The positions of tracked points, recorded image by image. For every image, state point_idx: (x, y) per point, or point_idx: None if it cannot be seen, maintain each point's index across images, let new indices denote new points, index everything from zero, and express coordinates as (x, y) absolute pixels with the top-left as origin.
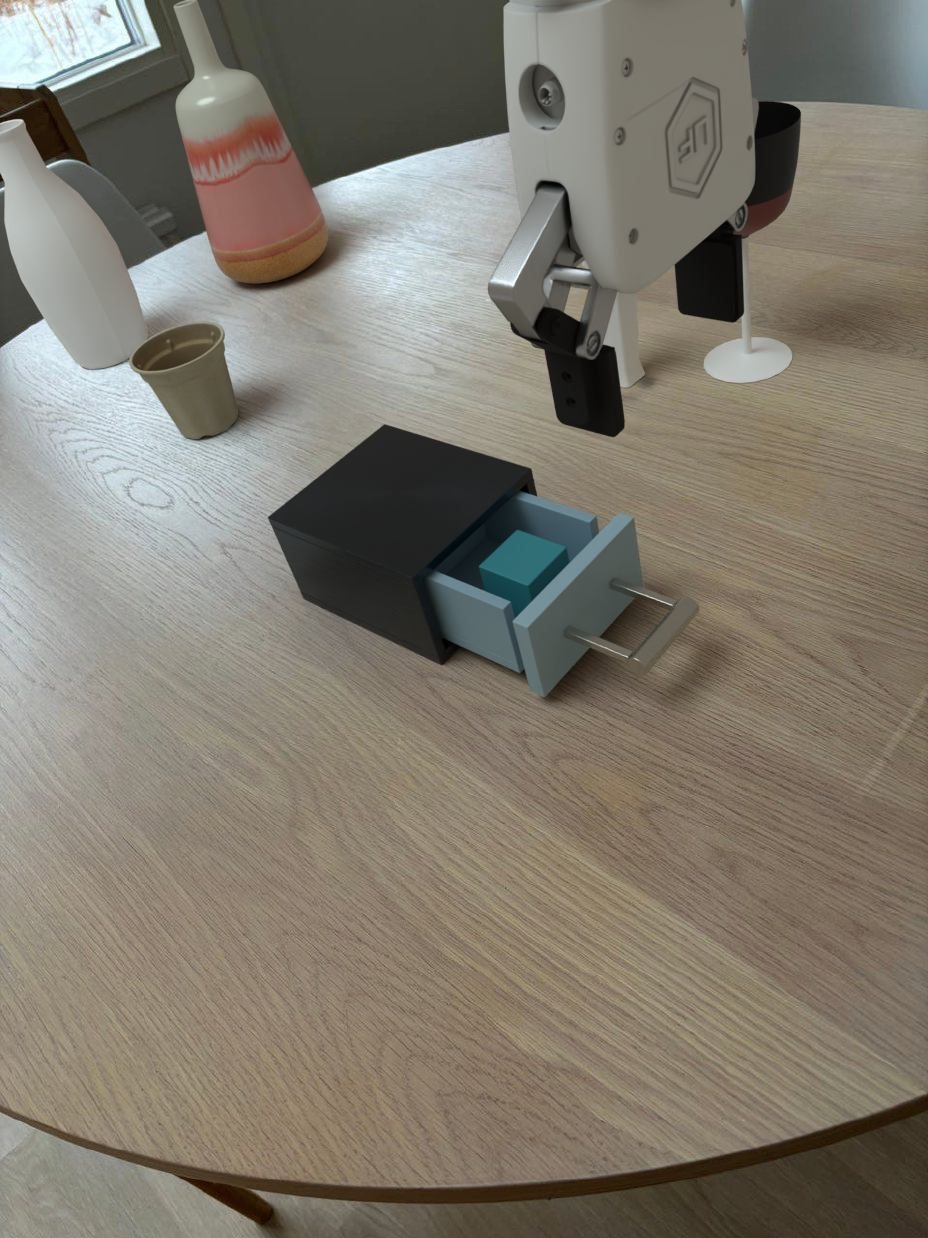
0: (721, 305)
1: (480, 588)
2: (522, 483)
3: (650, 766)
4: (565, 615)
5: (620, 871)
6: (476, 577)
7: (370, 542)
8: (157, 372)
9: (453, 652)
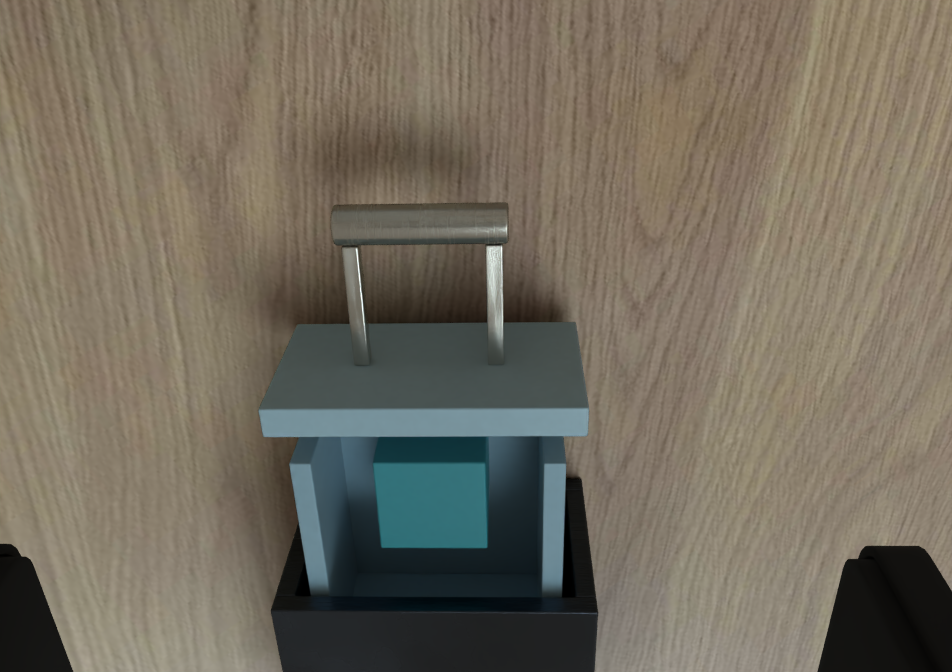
0: (4, 640)
1: None
2: (303, 601)
3: (597, 112)
4: (491, 379)
5: (796, 38)
6: None
7: None
8: None
9: None
